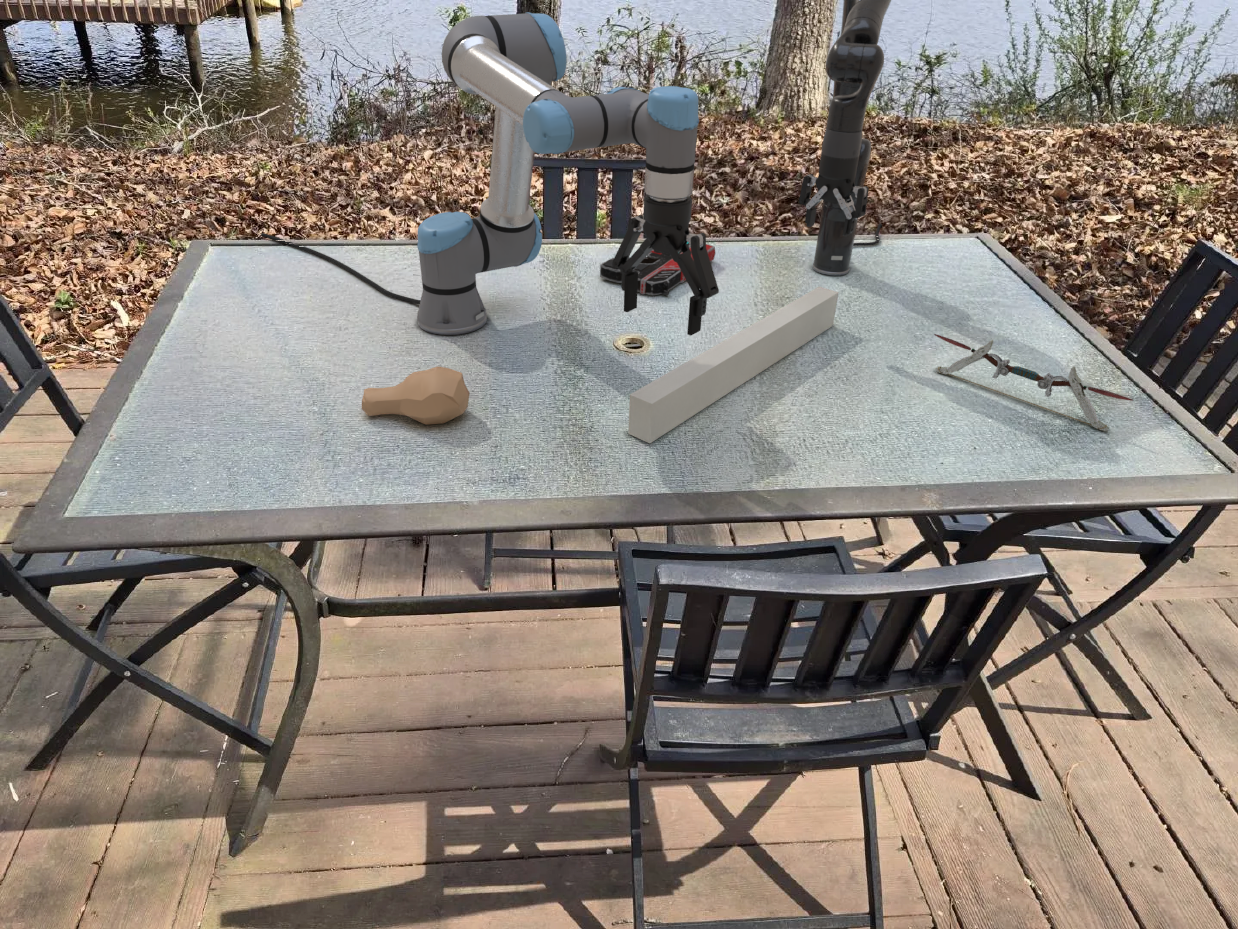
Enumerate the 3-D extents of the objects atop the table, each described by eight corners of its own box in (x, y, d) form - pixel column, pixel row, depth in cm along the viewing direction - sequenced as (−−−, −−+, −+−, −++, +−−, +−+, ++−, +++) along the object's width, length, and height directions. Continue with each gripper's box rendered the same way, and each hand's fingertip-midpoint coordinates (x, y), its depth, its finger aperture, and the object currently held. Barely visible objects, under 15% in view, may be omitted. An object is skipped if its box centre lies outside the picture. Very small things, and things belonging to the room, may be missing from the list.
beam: (649, 443, 156) (651, 403, 152) (628, 433, 159) (629, 394, 154) (832, 325, 200) (838, 292, 196) (813, 319, 203) (819, 286, 198)
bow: (1121, 433, 163) (1140, 386, 158) (1118, 437, 162) (1137, 389, 156) (928, 365, 184) (939, 321, 179) (924, 368, 183) (935, 324, 178)
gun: (594, 265, 215) (663, 284, 207) (655, 228, 237) (719, 244, 229) (593, 282, 218) (662, 301, 210) (654, 244, 240) (718, 261, 232)
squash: (470, 431, 159) (458, 392, 152) (363, 439, 160) (347, 401, 154) (477, 393, 166) (467, 355, 160) (375, 401, 168) (361, 364, 162)
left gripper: (748, 207, 133) (735, 335, 144) (622, 174, 146) (619, 294, 157) (721, 218, 128) (709, 350, 140) (592, 183, 141) (591, 306, 153)
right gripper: (881, 154, 175) (866, 234, 184) (818, 142, 182) (807, 218, 191) (864, 162, 170) (850, 243, 179) (800, 148, 178) (789, 227, 187)
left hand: (661, 320), depth 149 cm, fingers open, 13 cm apart
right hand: (827, 230), depth 185 cm, fingers open, 8 cm apart
